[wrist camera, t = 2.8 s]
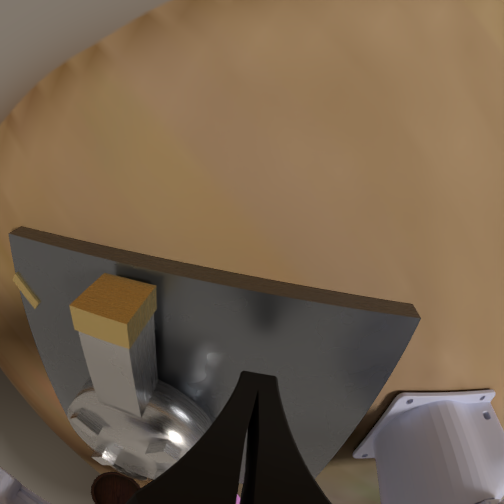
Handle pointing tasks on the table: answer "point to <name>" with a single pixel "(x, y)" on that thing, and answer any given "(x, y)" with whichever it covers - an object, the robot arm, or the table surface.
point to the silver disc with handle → (128, 382)
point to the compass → (115, 486)
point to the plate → (224, 335)
